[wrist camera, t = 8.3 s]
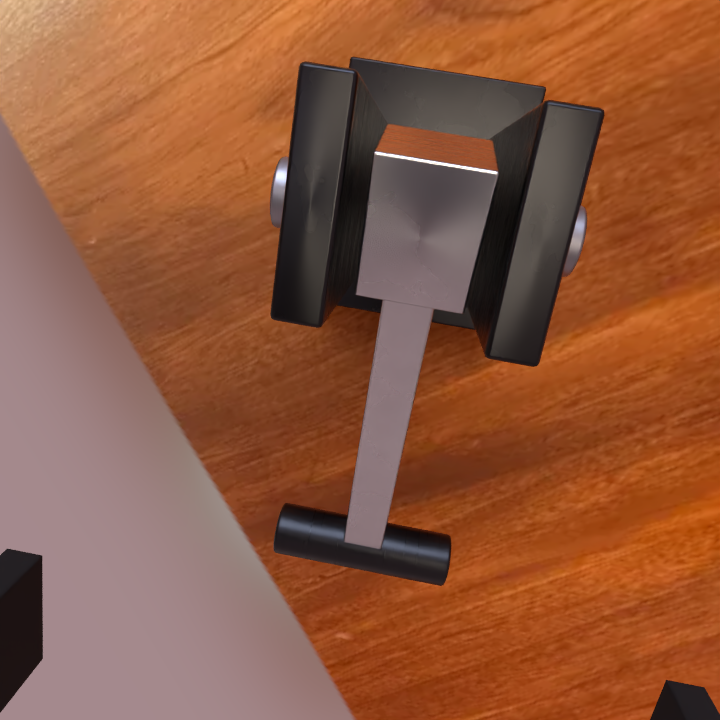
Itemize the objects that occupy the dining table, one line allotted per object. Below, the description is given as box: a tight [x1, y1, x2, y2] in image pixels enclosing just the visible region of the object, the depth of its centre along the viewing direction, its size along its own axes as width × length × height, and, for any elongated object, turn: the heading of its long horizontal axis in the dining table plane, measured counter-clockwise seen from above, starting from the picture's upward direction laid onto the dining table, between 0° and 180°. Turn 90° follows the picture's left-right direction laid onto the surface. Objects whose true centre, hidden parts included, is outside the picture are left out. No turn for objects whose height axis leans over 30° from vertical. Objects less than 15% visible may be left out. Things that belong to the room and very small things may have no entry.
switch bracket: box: [270, 57, 604, 367], centre depth 17 cm, size 9×7×14 cm
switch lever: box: [274, 124, 500, 586], centre depth 14 cm, size 12×5×2 cm, turn 172°
